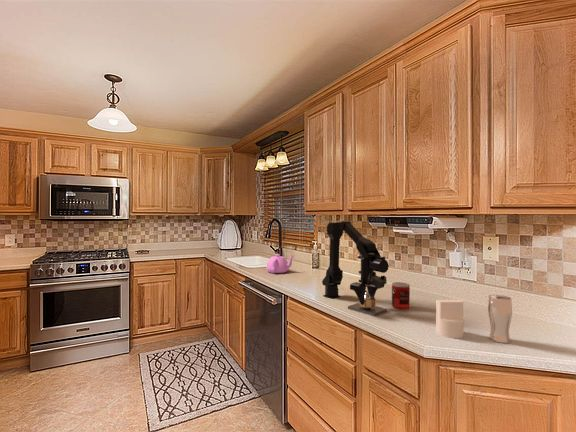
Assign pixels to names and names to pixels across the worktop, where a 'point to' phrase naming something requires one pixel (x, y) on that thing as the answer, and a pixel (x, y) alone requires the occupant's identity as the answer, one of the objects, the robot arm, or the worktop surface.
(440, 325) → the base with upright slab
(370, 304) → the ring
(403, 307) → the canned food
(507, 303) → the beer glass
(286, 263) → the teapot
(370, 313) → the shaft stand
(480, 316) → the worktop surface
